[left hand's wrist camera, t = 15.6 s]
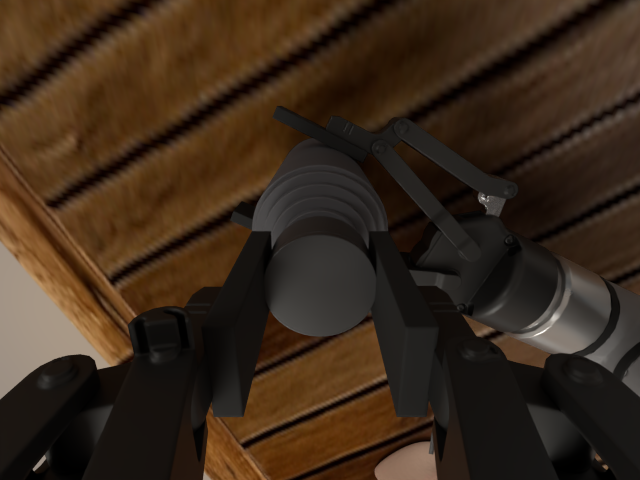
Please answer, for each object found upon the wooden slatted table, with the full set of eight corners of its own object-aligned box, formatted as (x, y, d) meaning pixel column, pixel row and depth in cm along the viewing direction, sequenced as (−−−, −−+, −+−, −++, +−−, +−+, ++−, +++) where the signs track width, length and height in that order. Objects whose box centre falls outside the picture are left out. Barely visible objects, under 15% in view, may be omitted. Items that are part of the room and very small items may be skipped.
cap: (374, 218, 14) (384, 237, 12) (364, 307, 15) (371, 339, 13) (270, 212, 14) (262, 231, 12) (270, 303, 15) (262, 334, 13)
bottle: (341, 223, 33) (369, 377, 14) (272, 198, 32) (206, 328, 14) (370, 153, 31) (447, 229, 12) (296, 125, 30) (257, 159, 11)
